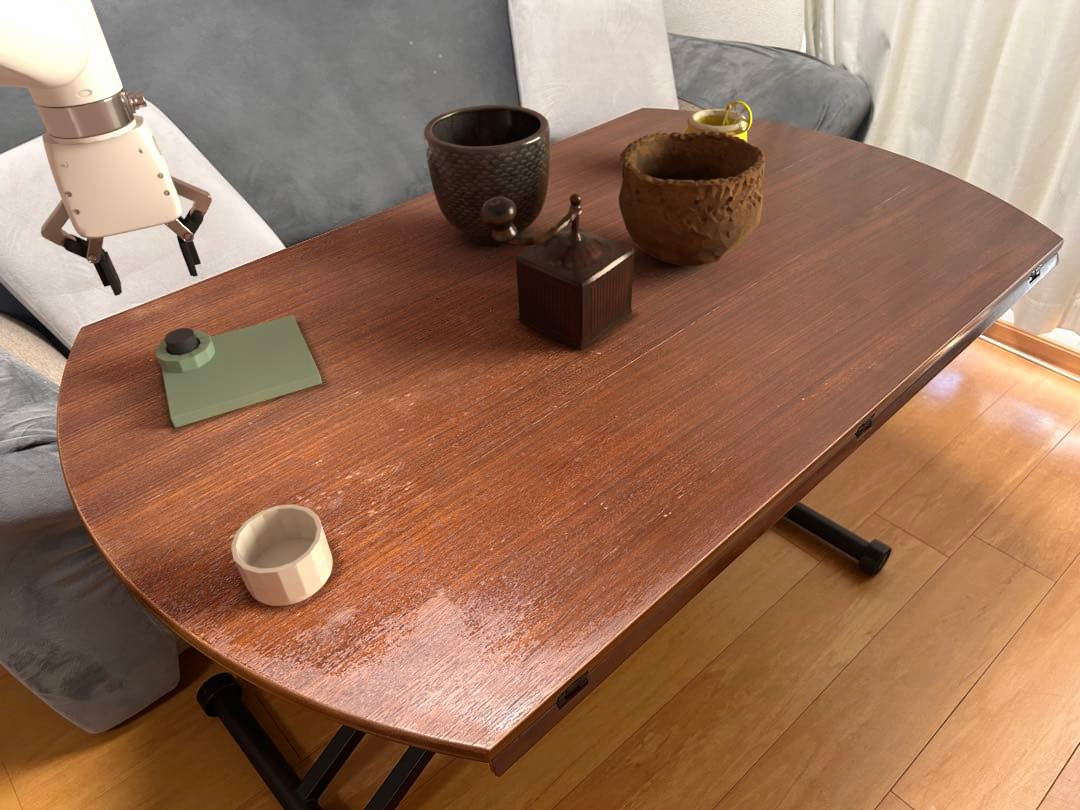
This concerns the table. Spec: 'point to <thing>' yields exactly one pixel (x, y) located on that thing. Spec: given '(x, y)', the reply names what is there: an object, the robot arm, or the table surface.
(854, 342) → the table surface
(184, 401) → the scale
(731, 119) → the mug
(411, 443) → the table surface
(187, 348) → the tare button
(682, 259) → the bowl
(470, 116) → the planter
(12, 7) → the robot arm
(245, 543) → the white bowl
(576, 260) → the pepper mill
